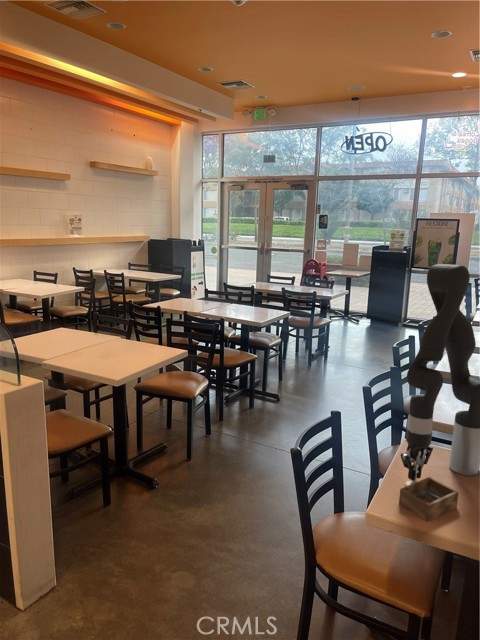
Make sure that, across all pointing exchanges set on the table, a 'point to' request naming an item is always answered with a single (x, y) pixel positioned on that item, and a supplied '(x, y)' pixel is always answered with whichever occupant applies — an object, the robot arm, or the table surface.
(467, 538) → the table surface
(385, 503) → the table surface
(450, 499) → the walnut box
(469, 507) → the table surface
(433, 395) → the robot arm
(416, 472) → the chess piece
